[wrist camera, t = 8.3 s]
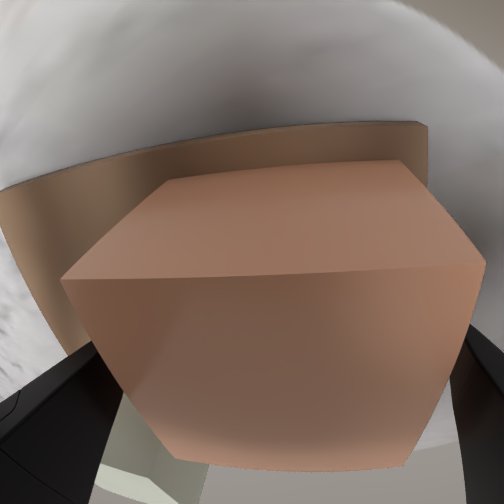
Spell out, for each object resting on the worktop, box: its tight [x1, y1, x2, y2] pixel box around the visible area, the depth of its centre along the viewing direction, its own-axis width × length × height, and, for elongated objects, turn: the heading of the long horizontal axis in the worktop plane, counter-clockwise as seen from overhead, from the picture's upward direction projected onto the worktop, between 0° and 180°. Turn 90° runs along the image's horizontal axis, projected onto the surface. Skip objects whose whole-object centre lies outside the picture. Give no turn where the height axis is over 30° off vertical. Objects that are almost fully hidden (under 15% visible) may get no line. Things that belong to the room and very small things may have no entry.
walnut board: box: [0, 121, 428, 356], centre depth 15 cm, size 18×18×1 cm
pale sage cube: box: [95, 393, 209, 504], centre depth 16 cm, size 7×7×6 cm
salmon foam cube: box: [60, 160, 487, 472], centre depth 8 cm, size 7×7×6 cm
